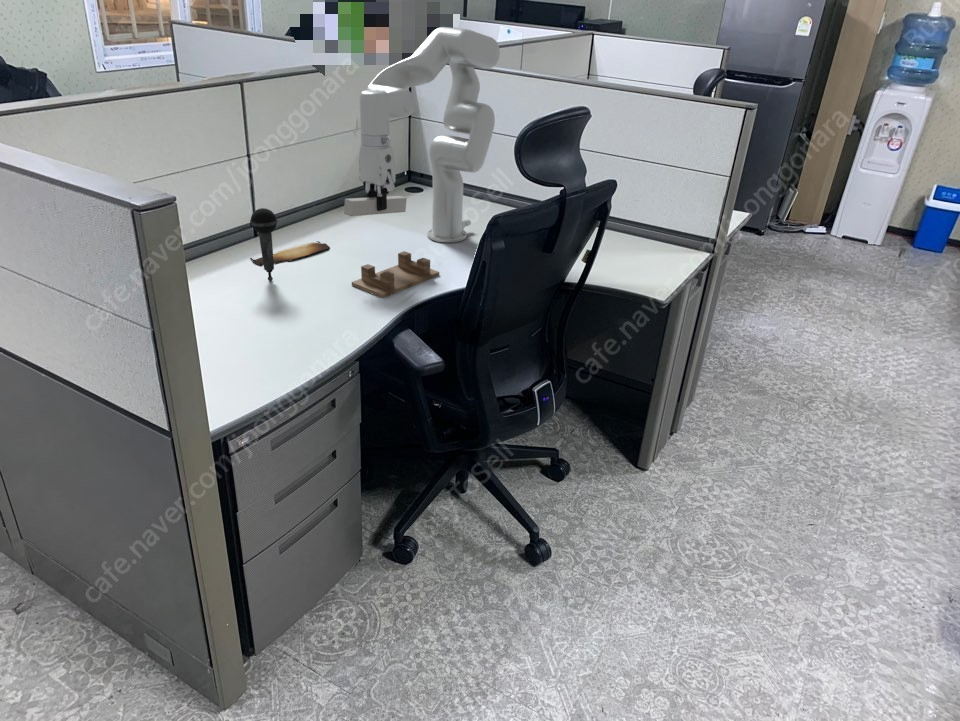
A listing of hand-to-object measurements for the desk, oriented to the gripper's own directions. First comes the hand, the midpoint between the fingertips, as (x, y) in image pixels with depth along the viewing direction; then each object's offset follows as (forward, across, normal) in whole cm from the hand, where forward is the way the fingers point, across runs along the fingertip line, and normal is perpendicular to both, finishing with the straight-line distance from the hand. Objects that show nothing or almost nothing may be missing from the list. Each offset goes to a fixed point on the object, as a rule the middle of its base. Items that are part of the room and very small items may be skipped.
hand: (377, 207), depth 198 cm
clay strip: (+1, 0, +1) cm, 1 cm away
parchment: (+18, +25, +11) cm, 33 cm away
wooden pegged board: (+17, -11, +3) cm, 21 cm away
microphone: (+18, +13, +28) cm, 35 cm away
